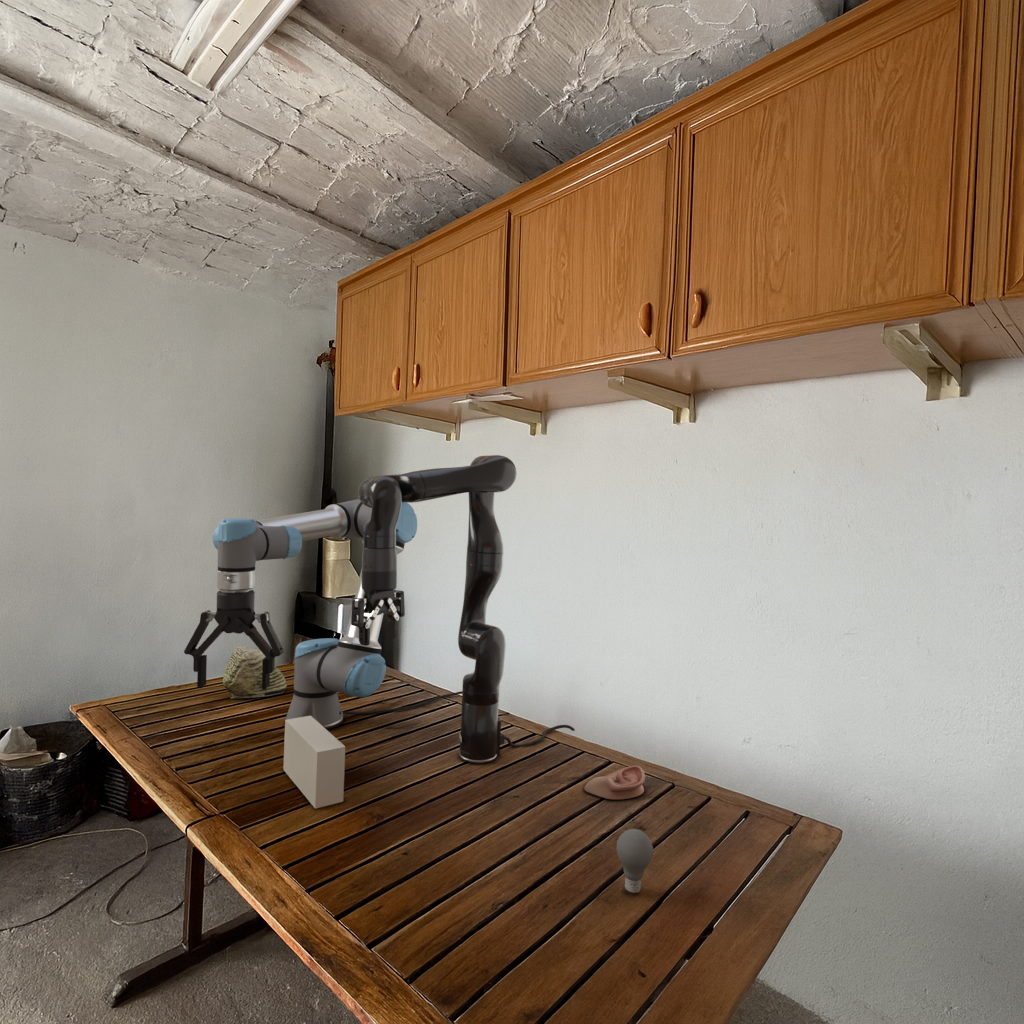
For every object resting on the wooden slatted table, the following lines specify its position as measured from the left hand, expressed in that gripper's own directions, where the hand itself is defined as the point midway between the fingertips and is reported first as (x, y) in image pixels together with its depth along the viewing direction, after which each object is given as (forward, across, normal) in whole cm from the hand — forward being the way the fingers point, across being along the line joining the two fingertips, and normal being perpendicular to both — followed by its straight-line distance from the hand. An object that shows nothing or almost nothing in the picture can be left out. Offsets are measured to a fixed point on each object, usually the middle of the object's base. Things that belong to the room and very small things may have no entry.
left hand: (233, 687), depth 138 cm
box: (+21, +17, 0) cm, 27 cm away
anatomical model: (+22, +85, 0) cm, 87 cm away
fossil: (+22, -16, +61) cm, 66 cm away
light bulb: (+21, +79, -38) cm, 90 cm away
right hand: (-11, +31, 0) cm, 33 cm away
